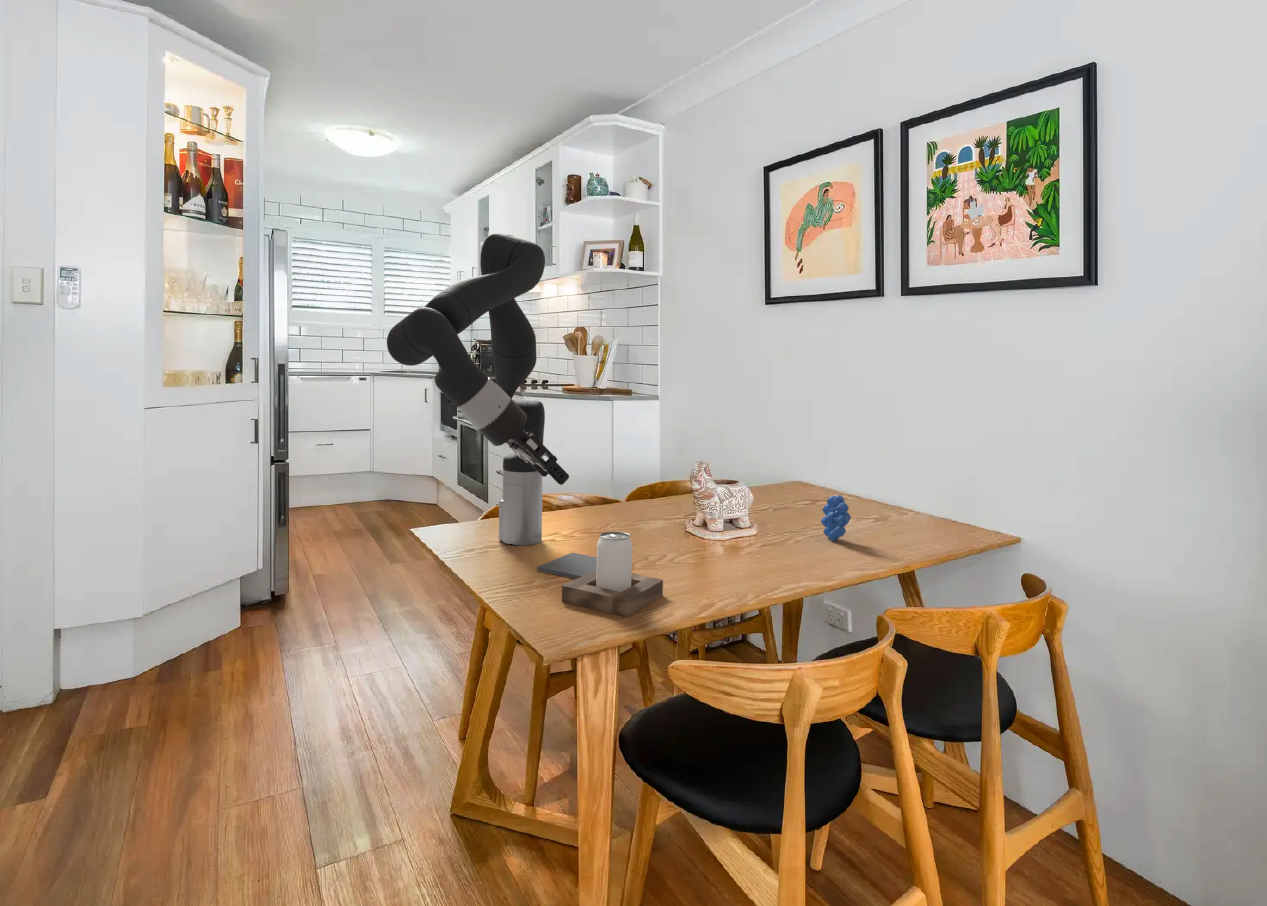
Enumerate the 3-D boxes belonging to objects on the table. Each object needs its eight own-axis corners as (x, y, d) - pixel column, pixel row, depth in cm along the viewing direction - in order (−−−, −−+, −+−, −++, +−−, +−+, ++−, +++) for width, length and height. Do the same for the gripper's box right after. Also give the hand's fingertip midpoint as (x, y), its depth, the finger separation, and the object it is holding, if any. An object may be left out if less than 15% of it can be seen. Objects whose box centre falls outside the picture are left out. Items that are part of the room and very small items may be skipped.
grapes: (860, 547, 176) (864, 498, 175) (834, 547, 175) (838, 498, 173) (839, 534, 188) (842, 489, 186) (814, 535, 186) (817, 489, 185)
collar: (561, 601, 131) (562, 585, 131) (601, 581, 143) (601, 567, 143) (627, 616, 125) (627, 600, 125) (662, 594, 137) (663, 579, 136)
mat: (536, 570, 149) (536, 566, 149) (571, 555, 160) (572, 552, 160) (590, 582, 143) (590, 578, 143) (622, 566, 154) (623, 562, 154)
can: (609, 590, 139) (611, 529, 137) (637, 597, 135) (639, 535, 133) (588, 599, 133) (590, 535, 132) (617, 607, 130) (619, 541, 128)
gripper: (520, 398, 114) (586, 467, 120) (496, 392, 126) (556, 455, 133) (487, 432, 112) (555, 500, 119) (465, 423, 125) (528, 485, 131)
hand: (556, 476), depth 126 cm, fingers open, 8 cm apart
